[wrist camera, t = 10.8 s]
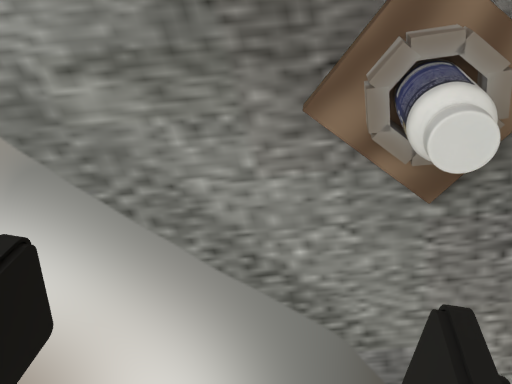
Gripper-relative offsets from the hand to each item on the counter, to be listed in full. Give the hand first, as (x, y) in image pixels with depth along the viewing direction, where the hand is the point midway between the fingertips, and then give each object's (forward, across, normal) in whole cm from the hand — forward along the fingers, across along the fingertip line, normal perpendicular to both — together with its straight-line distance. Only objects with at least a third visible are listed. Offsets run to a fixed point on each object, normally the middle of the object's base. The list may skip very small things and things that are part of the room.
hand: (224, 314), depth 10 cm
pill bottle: (+27, -10, +2) cm, 29 cm away
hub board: (+28, -11, +2) cm, 30 cm away
